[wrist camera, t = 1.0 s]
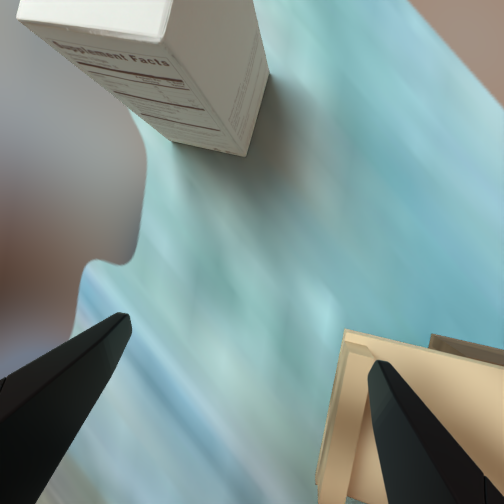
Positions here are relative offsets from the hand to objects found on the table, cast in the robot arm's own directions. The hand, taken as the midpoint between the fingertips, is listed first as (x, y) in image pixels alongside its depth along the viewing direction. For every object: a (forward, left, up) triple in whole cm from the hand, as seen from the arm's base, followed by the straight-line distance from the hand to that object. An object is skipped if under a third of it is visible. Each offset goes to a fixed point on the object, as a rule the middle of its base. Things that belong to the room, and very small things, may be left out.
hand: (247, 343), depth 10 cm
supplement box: (+14, +8, -12) cm, 20 cm away
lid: (-5, -10, -7) cm, 13 cm away
